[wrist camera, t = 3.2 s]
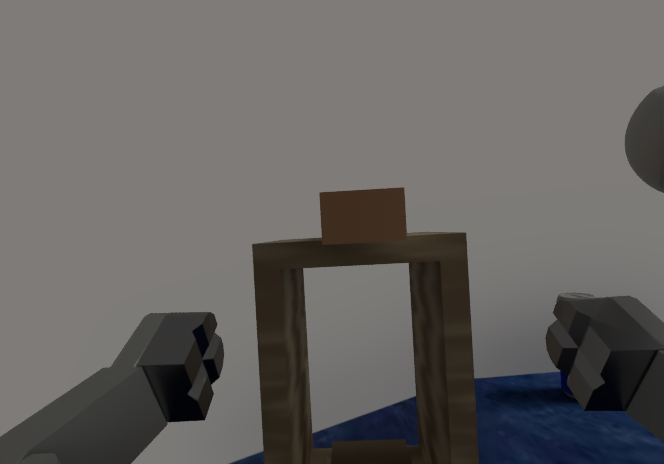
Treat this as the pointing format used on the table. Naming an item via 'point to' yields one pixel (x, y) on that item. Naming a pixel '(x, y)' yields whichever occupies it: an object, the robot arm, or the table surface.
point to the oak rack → (428, 341)
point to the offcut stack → (370, 452)
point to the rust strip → (363, 216)
